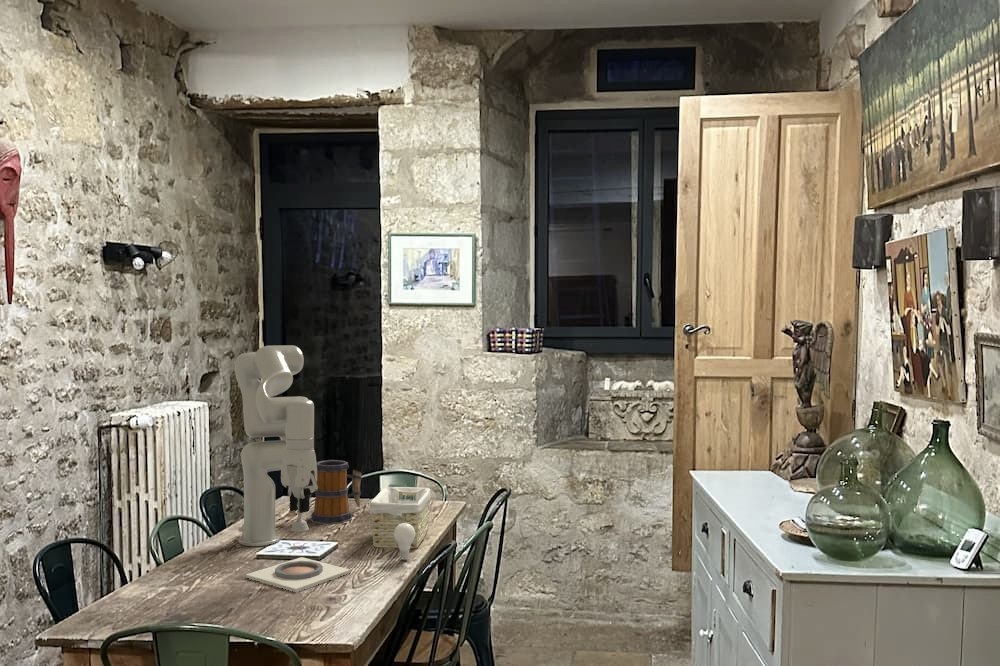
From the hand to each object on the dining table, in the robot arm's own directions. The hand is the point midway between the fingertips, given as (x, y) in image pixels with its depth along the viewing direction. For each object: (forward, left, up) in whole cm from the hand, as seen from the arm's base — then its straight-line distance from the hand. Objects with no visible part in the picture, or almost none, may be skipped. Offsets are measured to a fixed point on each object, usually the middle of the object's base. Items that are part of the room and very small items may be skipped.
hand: (299, 510), depth 226 cm
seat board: (0, 0, -18) cm, 18 cm away
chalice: (0, 0, -5) cm, 5 cm away
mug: (-38, +52, -18) cm, 67 cm away
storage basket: (-2, +45, -19) cm, 48 cm away
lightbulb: (+14, +28, -18) cm, 36 cm away
